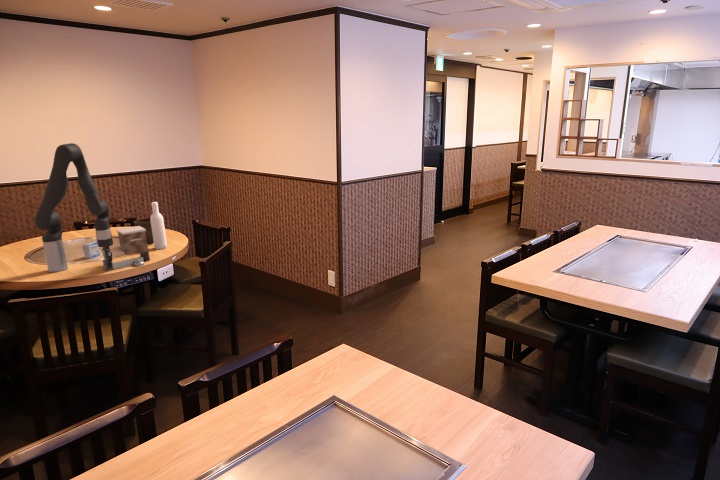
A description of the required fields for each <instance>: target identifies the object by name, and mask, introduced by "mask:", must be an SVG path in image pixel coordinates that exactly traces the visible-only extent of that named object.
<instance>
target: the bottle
mask: <svg viewBox="0 0 720 480" xmlns="http://www.w3.org/2000/svg"><path fill="white" fill-rule="evenodd" d="M151 210H152V213H151V214H150V217H149V218H150V221H151V228H152V234H153V241H154V244H153V247H154V249H155V250H165V249H166V248H168V241H167V236H166V228H165V221H164V216H163V215H162V213H160V212H159V211H160V210H159V203H158V202H157V201H152V202H151Z"/></svg>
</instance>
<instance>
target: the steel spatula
mask: <svg viewBox="0 0 720 480" xmlns="http://www.w3.org/2000/svg"><path fill="white" fill-rule="evenodd" d="M137 261H144V262H145V260H144V259H143V257H140V256H139V257H135V258H134V257H133V258H130V259H125V260H124V259H123V260H120V261H114V262H112V268H108V265H107V260H106V259H104V258H103V259H102V265H103V271H105V272H108V271H113V270H115V269H121V268H127V267H132V266H135V265H134V262H137Z"/></svg>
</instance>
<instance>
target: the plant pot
mask: <svg viewBox="0 0 720 480" xmlns="http://www.w3.org/2000/svg"><path fill="white" fill-rule="evenodd" d="M133 225H134V227H135V226H141V227H143V228H144V229H146V231H145V232H146V238H147V244H148V245H154V244H153V243H154V241H153V234H152V228H151V221H150V217H147V218H140V219H136V220H134V221H133Z"/></svg>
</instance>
